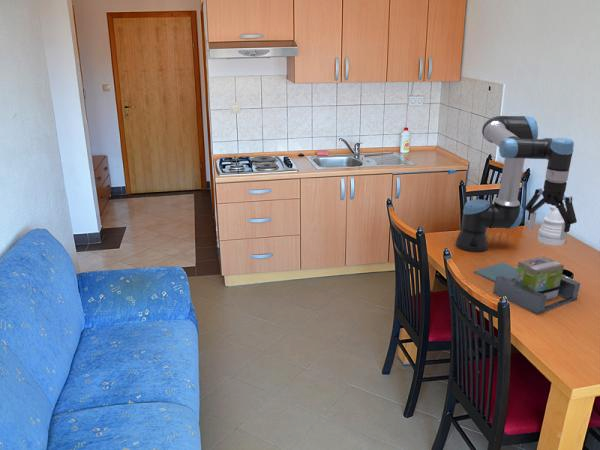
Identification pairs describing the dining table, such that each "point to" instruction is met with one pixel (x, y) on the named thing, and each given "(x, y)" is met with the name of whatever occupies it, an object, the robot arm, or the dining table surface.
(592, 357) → the dining table surface
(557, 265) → the tea box
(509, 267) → the mat
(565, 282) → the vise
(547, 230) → the honey pot
